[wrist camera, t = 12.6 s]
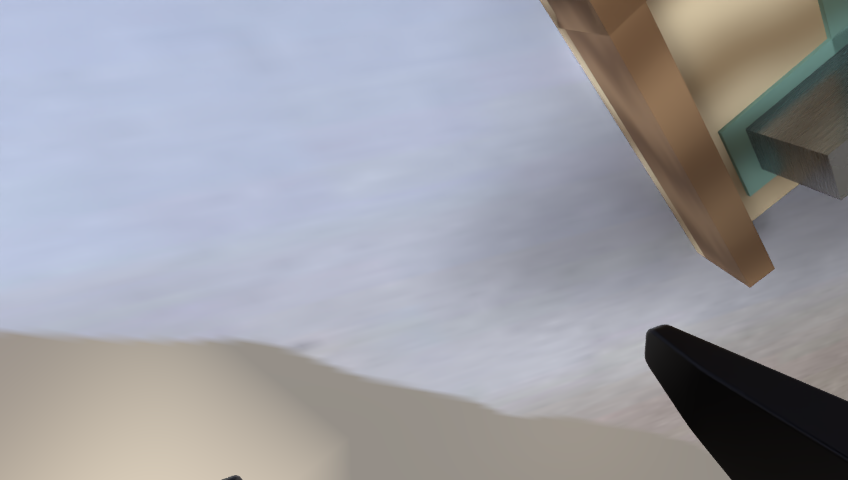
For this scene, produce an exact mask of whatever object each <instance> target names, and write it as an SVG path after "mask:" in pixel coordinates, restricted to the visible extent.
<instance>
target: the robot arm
mask: <svg viewBox="0 0 848 480" xmlns="http://www.w3.org/2000/svg"><path fill="white" fill-rule="evenodd" d="M645 359H646V362H647V364H648V366H649V368H650V369H651V371H652V372H653V374H654V375H655V377H656V378H657V380H658V381H659V383H660V384H661V386H662V387H663V389H664V390H665V392H666V393H667V395H668V396H669V398H670V399H671V401H672V402H673V404H674V405H675V407H676V408H677V410H678V411H679V413H680V415H681V416H682V418H683V419H684V420H685V422H686V423H687V425H688V426H689V428H690V429H691V430H692V431H693V433H694V434H695V435H696V437H697V438H698V439H699V440H700V442H701V443H702V444H703V445H704V447H705V448H706V449H707V450H708V451H709V453H710V454H711V455H712V456H713V458H714V459H715V460H716V461H717V463H718V464H719V465H720V466H721V467H722V469H723V470H724V471H725V472H726V474H727V475H728V476H729V477H730V479H731V480H848V401H846V400H844V399H841V398H839V397H837V396H834V395H832V394H830V393H827V392H825V391H823V390H820V389H818V388H816V387H813V386H811V385H809V384H806V383H804V382H801V381H799V380H797V379H794V378H792V377H790V376H787V375H785V374H783V373H780V372H778V371H776V370H773V369H771V368H769V367H766V366H764V365H761V364H759V363H757V362H754V361H752V360H750V359H747V358H745V357H743V356H740V355H738V354H736V353H733V352H731V351H729V350H726V349H724V348H721V347H719V346H717V345H714V344H712V343H710V342H707V341H705V340H703V339H700V338H698V337H696V336H693V335H691V334H689V333H686V332H684V331H681V330H679V329H677V328H674V327H672V326H669V325H660V326H657V327H654V328H652V329H649V330H648V331H647V333H646V343H645ZM222 480H242V479H241V478H240V476H237V475H234V476H231V477H228V478H225V479H222Z"/></svg>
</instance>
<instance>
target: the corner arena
mask: <svg viewBox="0 0 848 480" xmlns="http://www.w3.org/2000/svg"><path fill="white" fill-rule="evenodd" d="M540 1H541V3H542V4H543V6H544V8H545V9H546V11H547V12H548V14H549V16H550V17H551V19H552V20H553V22H554V24H555V25H556V27H557V28H558V30H559V32H560V33H561V35H562V36H563V38H564V40H565V41H566V43H567V44H568V46H569V48H570V49H571V51H572V52H573V54H574V56H575V57H576V59H577V60H578V62H579V64H580V65H581V67H582V68H583V70H584V72H585V73H586V75H587V76H588V78H589V80H590V81H591V83H592V84H593V86H594V88H595V89H596V91H597V92H598V94H599V96H600V97H601V99H602V100H603V102H604V104H605V105H606V107H607V108H608V110H609V112H610V113H611V115H612V116H613V118H614V120H615V121H616V123H617V124H618V126H619V128H620V129H621V131H622V132H623V134H624V136H625V137H626V139H627V140H628V142H629V144H630V145H631V147H632V148H633V150H634V152H635V153H636V155H637V156H638V158H639V160H640V161H641V163H642V164H643V166H644V168H645V169H646V171H647V172H648V174H649V176H650V177H651V179H652V180H653V182H654V184H655V185H656V187H657V188H658V190H659V191H660V193H661V195H662V196H663V198H664V199H665V201H666V203H667V204H668V206H669V207H670V209H671V211H672V212H673V214H674V215H675V217H676V219H677V220H678V222H679V223H680V225H681V227H682V228H683V230H684V231H685V233H686V235H687V236H688V238H689V239H690V241H691V243H692V244H693V246H694V247H695V249H696V251H697V252H698V253H699V254H700V255H702V256H703V257H705V258H706V259H708V260H709V261H711V262H712V263H714V264H715V265H717V266H718V267H720V268H721V269H723V270H724V271H726V272H727V273H729V274H730V275H732V276H733V277H735V278H736V279H738V280H739V281H741V282H742V283H744V284H745V285H747V286H748V287H751V286H753V285H754V284H755V283H757V282H758V281H759V280H761V279H762V278H763V277H765V276H766V275H767V274H769V273H770V272H771V271H772V270H774V269H775V268H774V266H773V264H772V262H771V260H770V258H769V256H768V254H767V252H766V249H765V247H764V245H763V243H762V241H761V239H760V237H759V235H758V233H757V231H756V229H755V227H754V225H753V223H752V221H753V220H754V219H756V218H757V217H758V216H759V215H761V214H762V213H763V212H764V211H766V210H767V209H768V208H770V207H771V206H772V205H773V204H775V203H776V202H777V201H778V200H780V199H781V198H782V197H783V196H785V195H786V194H787V193H788V192H790V191H791V190H792V189H794V188H795V187H796V186H797V185H799V183H796V182H794V181H791V180H789V179H786V178H783V177H781V176H778V175H776V174H773V173H771V172H768V171H766V170H763V169H762V168H761V166H760V163H759V161H758V159H757V156H756V154H755V151H754V149H753V147H752V144H751V142H750V139H749V137H748V135H747V132H746V130H745V129H746V128H747V127H748V126H750V125H751V124H752V123H753V122H754V121H756V120H757V119H758V118H759V117H760V116H762V115H763V114H764V113H765V112H766V111H768V110H769V109H770V108H771V107H772V106H773V105H775V104H776V103H777V102H778V101H779V100H781V99H782V98H783V97H784V96H785V95H787V94H788V93H789V92H790V91H791V90H793V89H794V88H795V87H796V86H797V85H799V84H800V83H801V82H802V81H803V80H805V79H806V78H807V77H808V76H809V75H811V74H812V73H813V72H814V71H815V70H817V69H818V68H819V67H820V66H821V65H823V64H824V63H825V62H826V61H827V60H828V59H830V58H831V57H832V56H833V55H834V54H836V53H837V52H838V51H839V50H840V49H842V48H843V47H844V46H845V45H846V44H848V0H540Z"/></svg>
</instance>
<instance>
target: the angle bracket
mask: <svg viewBox="0 0 848 480" xmlns="http://www.w3.org/2000/svg"><path fill="white" fill-rule="evenodd" d="M745 130H746V132H747V135H748V137H749V139H750V142H751V144H752V147H753V149H754V151H755V154H756V156H757V159H758V161H759V163H760V166H761V168H762V169H763V170H766V171H768V172H771V173H773V174H776V175H778V176H781V177H783V178H786V179H789V180H791V181H794V182H796V183H799V184H801V185H804V186H806V187H809V188H811V189H814V190H817V191H819V192H822V193H824V194H827V195H829V196H832V197H834V198H837V199H840V200H842V199H843V198H844V197H846V196H847V195H848V44H846V45H845V46H844V47H843V48H842V49H840V50H839V51H838V52H837V53H836V54H834V55H833V56H832V57H831V58H830V59H828V60H827V61H826V62H825V63H824V64H823V65H821V66H820V67H819V68H818V69H817V70H815V71H814V72H813V73H812V74H811V75H809V76H808V77H807V78H806V79H805V80H803V81H802V82H801V83H800V84H799V85H797V86H796V87H795V88H794V89H793V90H791V91H790V92H789V93H788V94H787V95H785V96H784V97H783V98H782V99H781V100H779V101H778V102H777V103H776V104H775V105H773V106H772V107H771V108H770V109H769V110H768V111H766V112H765V113H764V114H763V115H762V116H760V117H759V118H758V119H757V120H756V121H754V122H753V123H752V124H751V125H750V126H748V127H747V128H746V129H745Z"/></svg>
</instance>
